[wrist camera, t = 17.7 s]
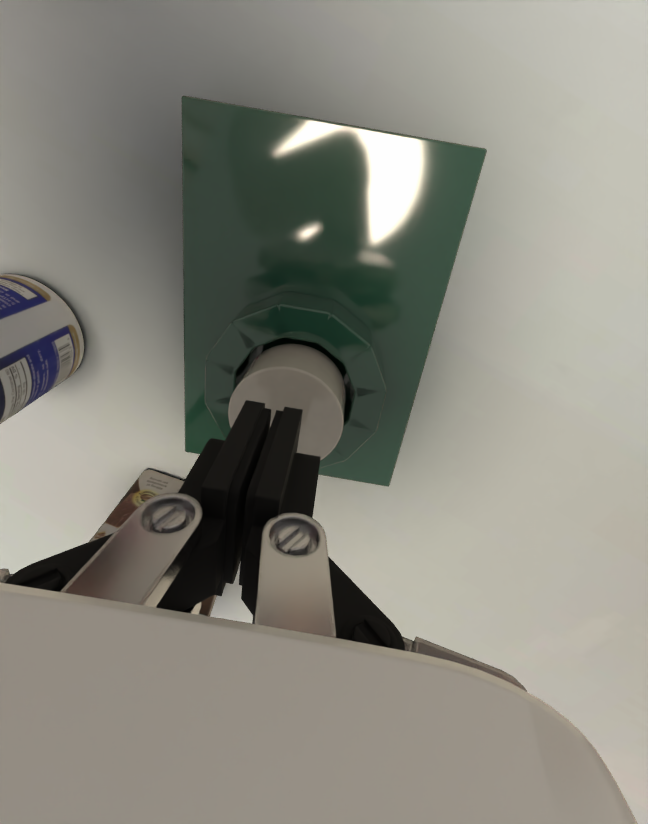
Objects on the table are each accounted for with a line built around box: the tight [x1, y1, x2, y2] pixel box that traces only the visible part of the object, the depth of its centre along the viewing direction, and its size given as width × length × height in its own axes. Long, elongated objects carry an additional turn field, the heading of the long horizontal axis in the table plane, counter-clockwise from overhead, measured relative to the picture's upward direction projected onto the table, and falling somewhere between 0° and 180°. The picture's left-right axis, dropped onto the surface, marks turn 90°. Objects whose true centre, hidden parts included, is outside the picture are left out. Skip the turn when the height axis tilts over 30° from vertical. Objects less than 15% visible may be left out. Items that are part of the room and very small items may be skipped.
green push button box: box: [182, 96, 487, 486], centre depth 17 cm, size 14×10×4 cm
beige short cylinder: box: [228, 344, 346, 460], centre depth 15 cm, size 4×4×2 cm
